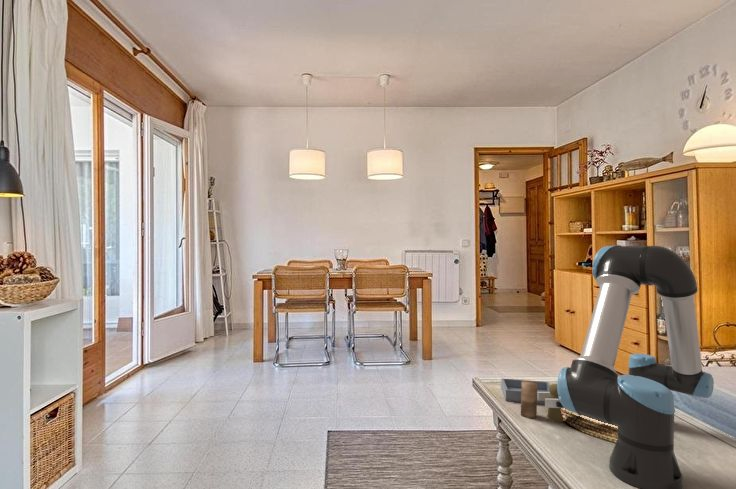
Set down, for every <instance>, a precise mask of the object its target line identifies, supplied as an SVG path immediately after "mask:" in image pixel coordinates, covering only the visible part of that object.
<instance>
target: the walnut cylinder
mask: <svg viewBox="0 0 736 489" xmlns="http://www.w3.org/2000/svg"><path fill="white" fill-rule="evenodd" d="M524 380H525V381H522V382H521V402H520V416H521V417H523V418H526V419H535V418H536V419H537V414H538V410H537V409H538V404H537V383H536V382H533V381H534V380H531V381H527V380H528V379H524Z"/></svg>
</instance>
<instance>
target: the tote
mask: <svg viewBox="0 0 736 489" xmlns="http://www.w3.org/2000/svg"><path fill="white" fill-rule="evenodd" d="M525 380H527V381H533V382H536V383H537V405H538V404H539V405H545V401H538V392H549V387H550V385H551V384H550V382H549V381H542V380H541V381H540V380H528V379H514V378H504V377H503V378H501V380H500V381H501V382H500V386H501V388H500V389H501V391H502V394H503V398H504V401H505V402H514V403H521V382H522V381H525Z"/></svg>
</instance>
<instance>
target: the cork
mask: <svg viewBox="0 0 736 489" xmlns="http://www.w3.org/2000/svg"><path fill="white" fill-rule="evenodd" d="M549 392H550V394H551V396H550V399H559V397H558V391H557V383H552V384H550V387H549ZM560 409H561V408H547V410H548V411H547V415H546V416H547V418H548V419H549V420H551V421H554V422H558V423H564V422H563V417H562V414H561V411H560Z"/></svg>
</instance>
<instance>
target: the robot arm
mask: <svg viewBox="0 0 736 489" xmlns="http://www.w3.org/2000/svg"><path fill="white" fill-rule="evenodd" d="M591 273H592V276H593V278H594V280H595V283H596V285H597V286H598V287H599V289H598V292H597V296H596V300H595V303H594V306H593V311H592V313H591V317H590V321H589V324H588V328H587V331H586V335H585V338H584V341H583V345H582V349H581V352H580V355H579V357H576V358H574V359H573V360H572V362H571V364H570V367H569V366H566V367H563V368H561V370H560V371H559V373H558V376H557V382H556V384H557V391H558V397H559V399H550V396H551V394H550V392H538V401H545V404H544V407H545V408H547V409H549V408H565V409H566V411H569V412H571V413H574V414H576V415H578V416H583V417H587V418H590V419H594V420H597V421H599V422H603V423H606V424H609V425H613V426H615V427H617V439H616V441H615V445H614V446H613V449H612V451H611V454H610V456H609V465H608V466H609V467H608V468H609V470H610V472H611V474H613V475H614V476H615V477H617V478H618V479H619V480H621V481H623V482H624V483H626V484H629V485H631V486H632V487H633V486H634V487H636V488H639V489H683V479H684V478H683V474H682V472H681V468H680V466H679V463H678V459H677V456H676V455H675V454H676V453H675V449H674V444H675V413H676V408H675V398H674V397H675V396H674V394H673V392H675V393H676V392H677V393H681V394H685V395H689V396H692V397H698V398H703V399H704V398H705V399H709V398H710V397H711V396H712V394H713V392H714V384H715V383H714V377H713V375H712V374H711V373H708V372H706V371H703V365H702V364H703V363H702V354H701V349H700V348H701V347H700V339H699V331H698V324H697V323H698V322H697V314H696V313H697V312H696V305H695V297H694V296H695V295H696V294H697V293H698V284H697V279H696V277H695V275H694V272H693V271H692V269H691V267H690V266H689V264H688V263H687V261H685V260H684V259H683V257H681V256H680V255H679V254H678V253H676V252H675V251H674V250H672V249H670V248H667V247H664V246H661V245H617V244H614V245H606V246H603V247H601V248H600V249H598V250H597V252H596V254H595V255H594V257H593V261H592V270H591ZM641 285H645V286H655V288H656V293H657V295H658V296H660V297H661V300H662V302H661V303H662V307H663V315H664V320H665V330H666V336H667V342H668V343H667V344H668V350H669V356H670V363H671V365H667V364H661V363H657V360H656V357H655V356H654V355H650V354H646V353H638V352H637V353H636V352H635V353H632V354H630V355H629V358H628V359H629V361H628V367H627V368H628V374H621V375H620V376H619V374H618V372H617V371H616V370H615V367H614V366H615V363H616V360H617V355H618V352H619V348H620V344H621V340H622V337H623V331H624V328H625V324H626V322H627V321H626V320H627V317H628V312H629V309H630V306H631V305H630V304H631V300H632V298H633V297H632V296H634V295H636V294H638V293H639V292H640V290H641Z"/></svg>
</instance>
